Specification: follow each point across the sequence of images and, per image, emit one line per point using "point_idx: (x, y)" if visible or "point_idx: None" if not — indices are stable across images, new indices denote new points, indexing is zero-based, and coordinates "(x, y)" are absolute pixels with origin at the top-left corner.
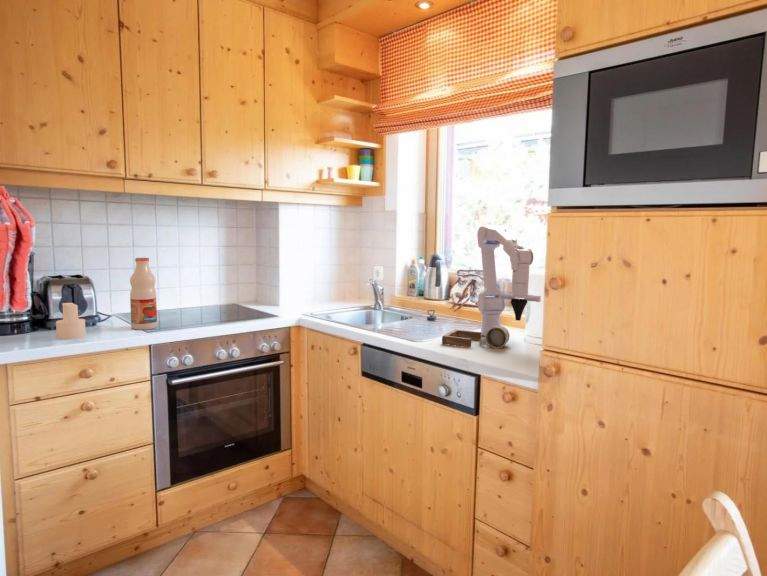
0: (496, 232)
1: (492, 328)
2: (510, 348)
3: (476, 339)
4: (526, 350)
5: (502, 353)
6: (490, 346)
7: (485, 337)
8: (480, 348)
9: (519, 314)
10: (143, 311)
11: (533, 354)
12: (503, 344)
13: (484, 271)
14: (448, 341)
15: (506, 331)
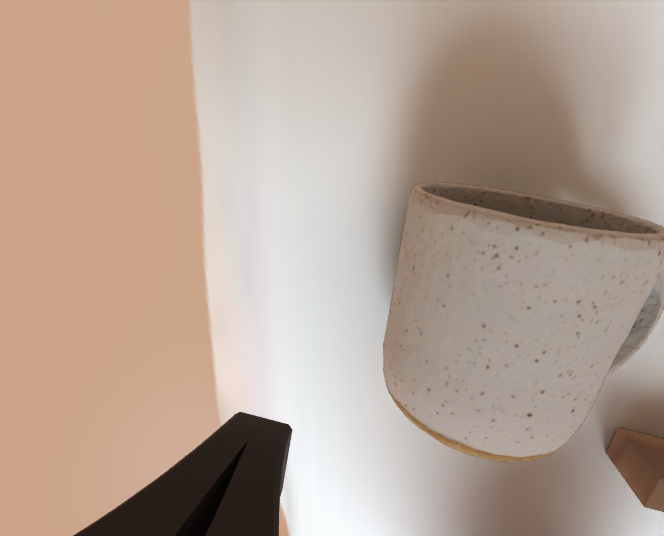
0: None
1: (633, 233)
2: (373, 234)
3: (652, 439)
4: (255, 209)
5: (440, 7)
6: (547, 198)
7: (647, 222)
8: (644, 135)
9: (187, 472)
10: None
11: (197, 89)
12: (435, 183)
13: None
14: None
15: (418, 299)
